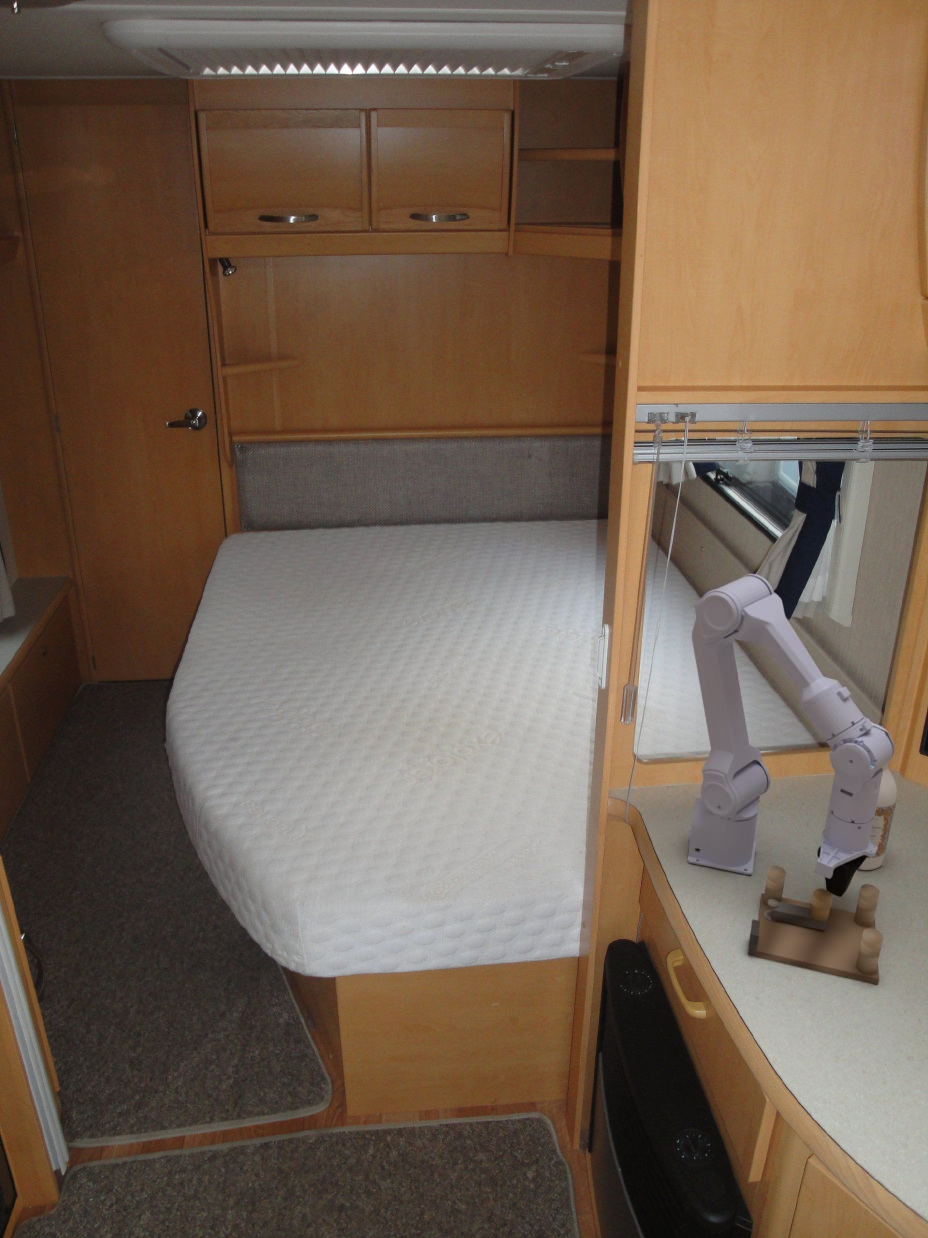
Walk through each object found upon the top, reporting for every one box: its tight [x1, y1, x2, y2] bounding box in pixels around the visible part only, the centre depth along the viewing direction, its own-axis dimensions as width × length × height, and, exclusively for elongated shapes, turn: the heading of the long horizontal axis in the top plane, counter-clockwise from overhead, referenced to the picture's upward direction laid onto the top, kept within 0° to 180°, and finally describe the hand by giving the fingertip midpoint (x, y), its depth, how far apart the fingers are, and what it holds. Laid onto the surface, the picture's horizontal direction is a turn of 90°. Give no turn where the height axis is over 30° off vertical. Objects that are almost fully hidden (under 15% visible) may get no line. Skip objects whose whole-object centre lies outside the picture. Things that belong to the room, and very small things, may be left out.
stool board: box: [747, 865, 884, 986], centre depth 125 cm, size 16×12×6 cm
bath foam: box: [858, 761, 898, 871], centre depth 138 cm, size 7×7×20 cm
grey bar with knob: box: [768, 888, 833, 931], centre depth 126 cm, size 8×2×5 cm, turn 71°
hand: (835, 892), depth 129 cm, fingers closed
